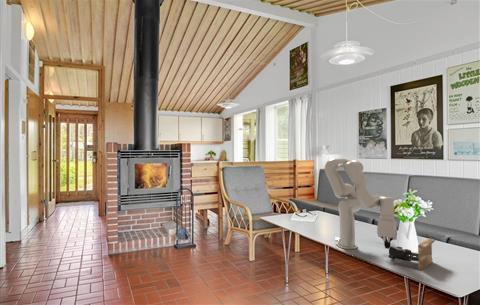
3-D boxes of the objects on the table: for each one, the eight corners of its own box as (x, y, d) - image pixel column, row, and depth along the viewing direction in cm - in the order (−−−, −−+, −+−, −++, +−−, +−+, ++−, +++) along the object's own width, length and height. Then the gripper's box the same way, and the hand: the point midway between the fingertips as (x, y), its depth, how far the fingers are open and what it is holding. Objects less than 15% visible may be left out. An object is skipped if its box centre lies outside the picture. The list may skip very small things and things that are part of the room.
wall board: (418, 269, 161) (418, 245, 162) (428, 261, 174) (428, 238, 174) (425, 271, 159) (424, 246, 159) (435, 262, 171) (434, 239, 171)
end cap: (388, 257, 180) (388, 246, 180) (397, 256, 182) (397, 244, 182) (402, 263, 171) (402, 251, 171) (412, 261, 173) (412, 249, 173)
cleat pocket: (394, 263, 170) (394, 258, 170) (406, 256, 183) (406, 251, 183) (418, 269, 161) (418, 263, 161) (428, 260, 174) (428, 255, 174)
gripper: (371, 216, 185) (372, 246, 185) (397, 220, 174) (398, 252, 174) (376, 214, 190) (377, 244, 190) (402, 218, 179) (403, 249, 179)
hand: (387, 247), depth 182 cm, fingers closed
